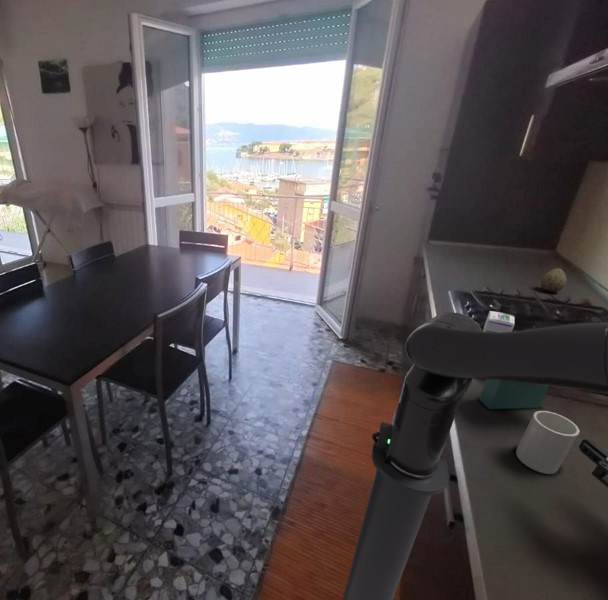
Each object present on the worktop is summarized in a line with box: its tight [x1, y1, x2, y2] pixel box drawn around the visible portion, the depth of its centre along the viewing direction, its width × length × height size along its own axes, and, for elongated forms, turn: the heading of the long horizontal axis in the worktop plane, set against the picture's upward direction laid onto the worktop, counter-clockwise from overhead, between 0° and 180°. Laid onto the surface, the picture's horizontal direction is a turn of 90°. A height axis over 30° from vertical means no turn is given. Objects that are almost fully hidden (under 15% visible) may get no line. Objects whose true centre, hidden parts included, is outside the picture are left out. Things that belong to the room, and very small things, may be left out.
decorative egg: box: [540, 267, 567, 293], centre depth 140 cm, size 7×7×10 cm
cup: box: [515, 410, 581, 475], centre depth 69 cm, size 6×6×10 cm
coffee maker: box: [478, 379, 550, 410], centre depth 79 cm, size 10×12×19 cm
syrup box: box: [482, 310, 516, 332], centre depth 98 cm, size 6×6×14 cm
